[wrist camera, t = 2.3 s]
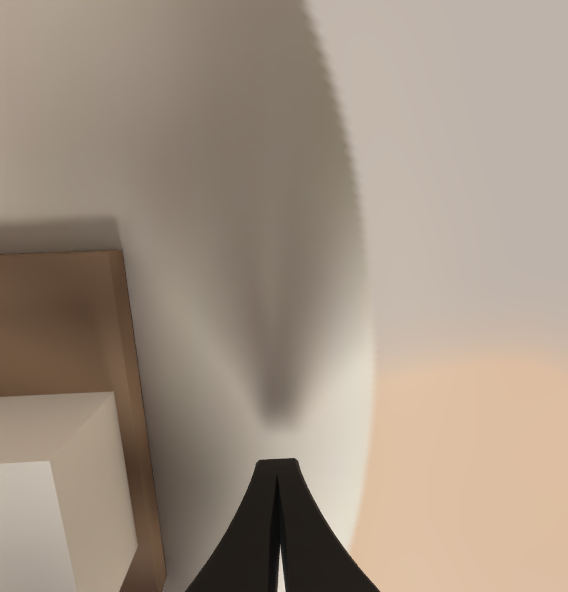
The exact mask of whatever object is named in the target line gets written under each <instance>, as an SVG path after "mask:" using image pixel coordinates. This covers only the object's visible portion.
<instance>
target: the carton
mask: <svg viewBox="0 0 568 592" xmlns="http://www.w3.org/2000/svg"><path fill="white" fill-rule="evenodd" d="M137 547H138V543H137V537H136V530H135V524H134V518H133V511H132V505H131V498H130V492H129V485H128V479H127V473H126V466H125V460H124V453H123V447H122V440H121V434H120V428H119V421H118V415H117V408H116V402H115V395H114V391H113V392H92V393H71V394H50V395H29V396H8V397H0V592H119V591H120V588H121V586H122V583H123V581H124V579H125V576H126V574H127V571H128V569H129V567H130V564H131V562H132V559H133V557H134V554H135V552H136V550H137Z"/></svg>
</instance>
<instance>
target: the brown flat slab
mask: <svg viewBox="0 0 568 592" xmlns="http://www.w3.org/2000/svg"><path fill="white" fill-rule="evenodd" d="M113 391H114V395H115V402H116V408H117V415H118V421H119V428H120V434H121V440H122V447H123V453H124V460H125V466H126V473H127V479H128V485H129V492H130V498H131V505H132V511H133V518H134V524H135V530H136V537H137V543H138V547H137V550H136V552H135V554H134V557H133V559H132V562H131V564H130V567H129V569H128V571H127V574H126V576H125V579H124V581H123V583H122V586H121V588H120V591H119V592H162V590H163V587H164V583H165V580H166V577H167V575H166V568H165V561H164V553H163V546H162V539H161V531H160V524H159V517H158V509H157V502H156V495H155V488H154V480H153V473H152V466H151V458H150V451H149V444H148V436H147V429H146V422H145V414H144V407H143V400H142V392H141V385H140V378H139V370H138V363H137V356H136V348H135V341H134V334H133V327H132V319H131V312H130V305H129V297H128V290H127V283H126V275H125V268H124V261H123V253H122V250H101V251H75V252H49V253H22V254H0V397H8V396H29V395H50V394H71V393H92V392H113Z"/></svg>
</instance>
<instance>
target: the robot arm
mask: <svg viewBox="0 0 568 592" xmlns="http://www.w3.org/2000/svg"><path fill="white" fill-rule="evenodd" d="M280 545H281V554H282V563H283V572H284V581H285V590H286V592H380V591H379V590H378V588H377V587H376V586H375V585H374V584H373V583H372V582H371V581H370V580H369V578H368V577H367V576H366V575H365V574H364V573H363V571H362V570H361V569H360V568H359V567H358V566H357V564H356V563H355V562H354V560H353V559H352V558H351V556H350V555H349V554H348V553H347V551H346V550H345V548H344V547H343V546H342V544H341V543H340V541H339V540H338V539H337V537H336V536H335V534H334V533H333V531H332V530H331V528H330V526H329V525H328V523H327V522H326V520H325V518H324V517H323V515H322V513H321V512H320V510H319V508H318V506H317V504H316V502H315V501H314V499H313V497H312V495H311V493H310V491H309V489H308V487H307V485H306V482H305V480H304V478H303V475H302V473H301V470H300V467H299V463H298V461H297V460H296V459H295V458H287V459H268V460H259V461H258V462H257V463H256V466H255V470H254V473H253V476H252V479H251V481H250V484H249V486H248V489H247V491H246V493H245V495H244V497H243V500H242V502H241V504H240V506H239V508H238V510H237V512H236V514H235V516H234V518H233V520H232V521H231V523H230V525H229V527H228V529H227V531H226V532H225V534H224V536H223V538H222V539H221V541H220V542H219V544H218V546H217V547H216V549H215V550H214V552H213V553H212V555H211V557H210V558H209V560H208V561H207V562H206V564H205V565H204V567H203V568H202V569H201V571H200V572H199V574H198V575H197V576H196V578H195V579H194V581H193V582H192V583H191V584H190V586H189V587H188V588H187V590H186V591H185V592H277V588H278V571H279V554H280Z"/></svg>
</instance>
